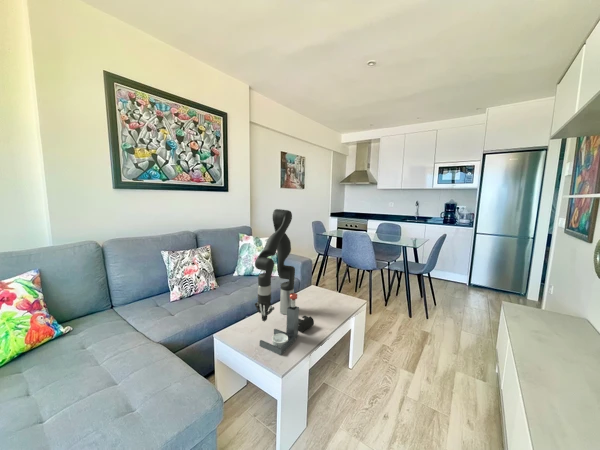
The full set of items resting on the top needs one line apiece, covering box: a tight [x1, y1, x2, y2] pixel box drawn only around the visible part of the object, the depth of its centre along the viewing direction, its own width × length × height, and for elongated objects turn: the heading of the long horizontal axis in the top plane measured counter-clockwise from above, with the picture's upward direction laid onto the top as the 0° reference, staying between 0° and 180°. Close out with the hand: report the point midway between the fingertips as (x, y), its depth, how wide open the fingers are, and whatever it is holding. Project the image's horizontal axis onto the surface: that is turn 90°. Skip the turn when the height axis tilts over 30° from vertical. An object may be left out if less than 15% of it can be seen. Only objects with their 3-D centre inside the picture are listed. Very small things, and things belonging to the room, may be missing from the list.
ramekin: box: [271, 333, 288, 348], centre depth 134 cm, size 9×9×4 cm
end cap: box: [298, 315, 315, 333], centre depth 150 cm, size 10×7×7 cm
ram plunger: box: [290, 292, 298, 310], centre depth 139 cm, size 4×4×11 cm
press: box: [259, 305, 300, 356], centre depth 136 cm, size 19×14×18 cm
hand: (264, 320), depth 139 cm, fingers closed
